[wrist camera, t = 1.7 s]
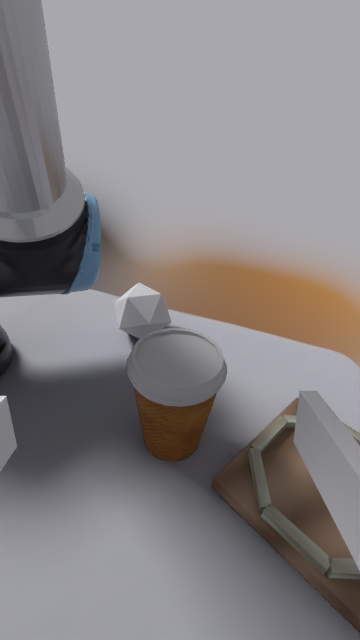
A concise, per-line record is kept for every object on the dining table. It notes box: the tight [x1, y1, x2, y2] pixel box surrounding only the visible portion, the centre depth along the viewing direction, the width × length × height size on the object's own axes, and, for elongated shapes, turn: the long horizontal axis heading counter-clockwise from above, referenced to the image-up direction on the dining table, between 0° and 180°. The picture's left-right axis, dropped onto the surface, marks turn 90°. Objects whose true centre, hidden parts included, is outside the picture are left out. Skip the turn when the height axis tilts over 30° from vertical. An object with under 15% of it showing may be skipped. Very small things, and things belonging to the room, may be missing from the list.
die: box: [114, 283, 171, 339], centre depth 51 cm, size 8×9×10 cm
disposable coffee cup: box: [126, 328, 227, 461], centre depth 33 cm, size 10×10×12 cm
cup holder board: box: [212, 398, 360, 632], centre depth 31 cm, size 16×16×2 cm
